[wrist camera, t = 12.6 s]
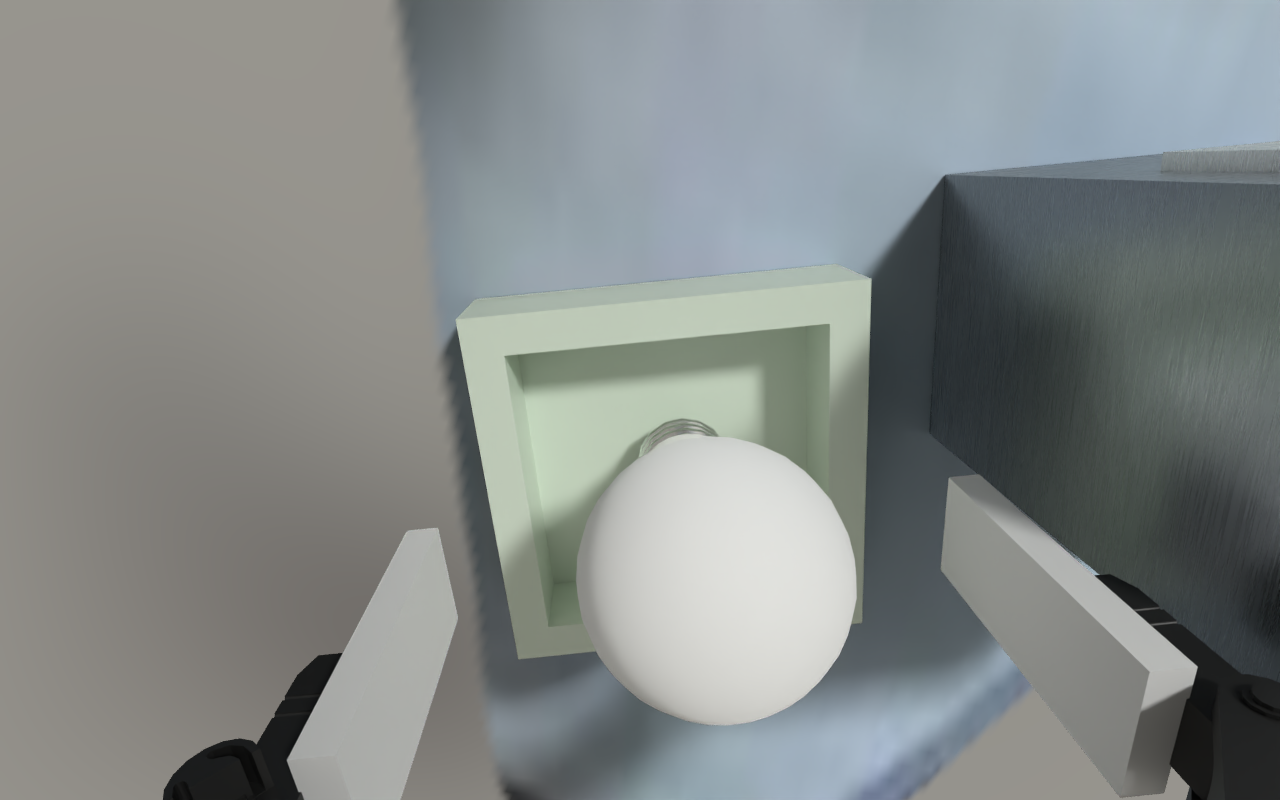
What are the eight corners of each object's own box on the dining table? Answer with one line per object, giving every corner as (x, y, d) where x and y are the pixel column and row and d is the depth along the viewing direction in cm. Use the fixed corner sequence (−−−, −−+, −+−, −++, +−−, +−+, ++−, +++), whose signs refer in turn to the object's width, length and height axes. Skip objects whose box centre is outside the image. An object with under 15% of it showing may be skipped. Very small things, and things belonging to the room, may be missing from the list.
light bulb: (726, 552, 25) (816, 826, 15) (557, 498, 24) (525, 755, 13) (803, 393, 23) (969, 580, 13) (623, 328, 22) (644, 473, 12)
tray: (475, 299, 22) (455, 319, 19) (836, 263, 22) (871, 278, 19) (528, 604, 26) (518, 659, 23) (833, 571, 26) (861, 623, 23)
